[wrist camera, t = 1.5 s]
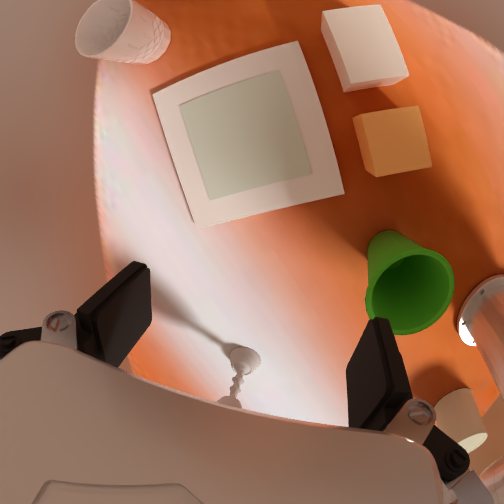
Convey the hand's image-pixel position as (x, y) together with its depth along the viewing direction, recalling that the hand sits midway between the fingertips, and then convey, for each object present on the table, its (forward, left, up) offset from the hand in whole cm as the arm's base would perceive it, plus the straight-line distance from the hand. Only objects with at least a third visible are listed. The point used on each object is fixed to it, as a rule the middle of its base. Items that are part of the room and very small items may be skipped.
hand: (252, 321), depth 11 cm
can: (-24, +46, -24) cm, 57 cm away
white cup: (+11, -25, -24) cm, 36 cm away
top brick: (-12, -4, -23) cm, 27 cm away
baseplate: (+3, -8, -23) cm, 25 cm away
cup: (-10, +9, -24) cm, 27 cm away
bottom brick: (-12, -14, -23) cm, 30 cm away
